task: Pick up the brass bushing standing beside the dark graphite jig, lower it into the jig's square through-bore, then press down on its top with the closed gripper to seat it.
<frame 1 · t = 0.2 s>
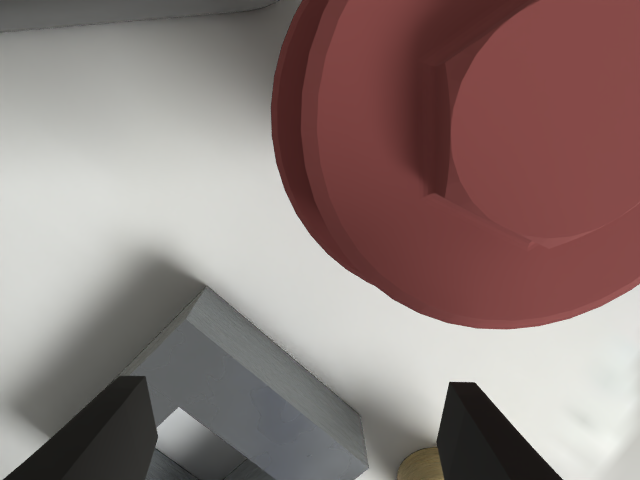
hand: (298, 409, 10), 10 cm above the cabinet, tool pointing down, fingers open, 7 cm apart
jig: (206, 428, 23), on the cabinet
bushing: (431, 475, 24), on the cabinet
mechanical component: (400, 120, 18), on the cabinet
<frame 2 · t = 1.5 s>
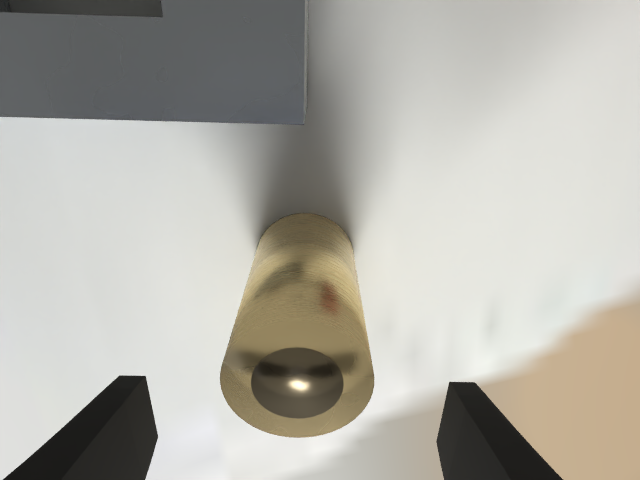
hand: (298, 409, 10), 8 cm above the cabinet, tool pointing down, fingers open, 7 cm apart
bushing: (305, 258, 17), on the cabinet
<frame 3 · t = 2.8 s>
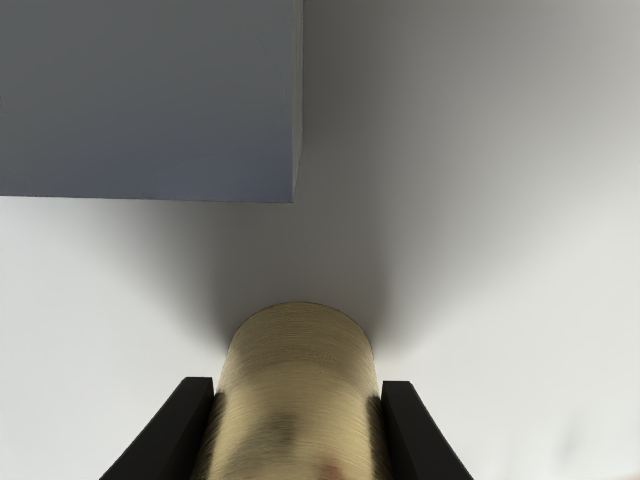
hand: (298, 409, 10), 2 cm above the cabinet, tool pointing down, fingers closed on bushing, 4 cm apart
bushing: (300, 362, 11), on the cabinet, touching gripper
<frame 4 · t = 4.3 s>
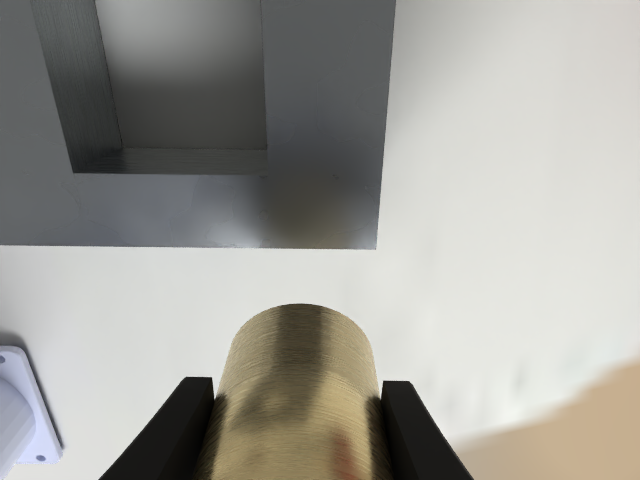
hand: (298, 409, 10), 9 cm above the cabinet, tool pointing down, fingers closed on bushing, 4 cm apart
jig: (191, 63, 14), on the cabinet
bushing: (301, 363, 11), point 7 cm above the cabinet, touching gripper
when the fingers open (4 cm above the cabinet, at t = 6.0 s): bushing drops 3 cm, resting in jig.
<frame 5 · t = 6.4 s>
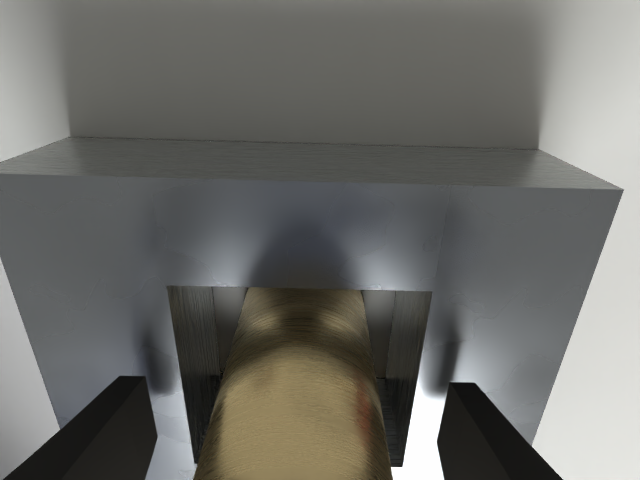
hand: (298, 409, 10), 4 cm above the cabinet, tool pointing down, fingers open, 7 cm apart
jig: (304, 308, 14), on the cabinet
bushing: (304, 310, 14), resting in jig
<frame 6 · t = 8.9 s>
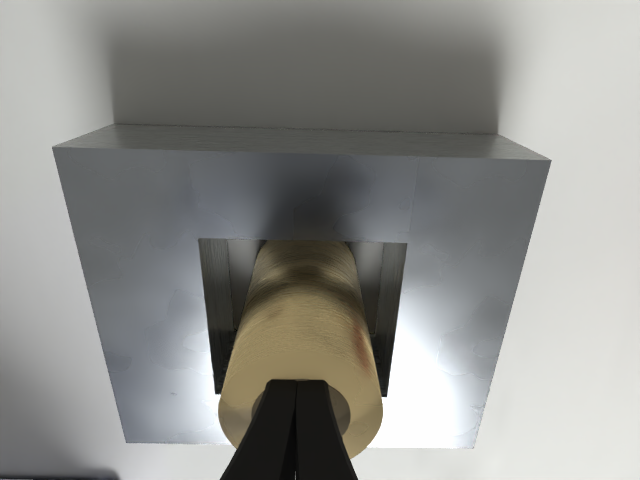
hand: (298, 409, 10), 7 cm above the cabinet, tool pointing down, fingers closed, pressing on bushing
jig: (305, 271, 16), on the cabinet
bushing: (305, 271, 16), resting in jig, touching gripper
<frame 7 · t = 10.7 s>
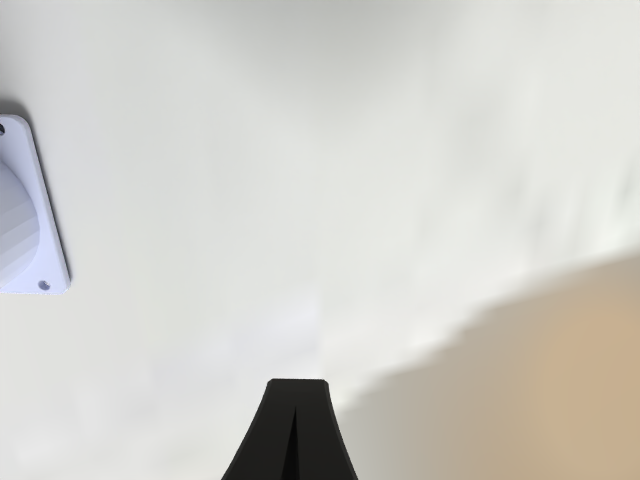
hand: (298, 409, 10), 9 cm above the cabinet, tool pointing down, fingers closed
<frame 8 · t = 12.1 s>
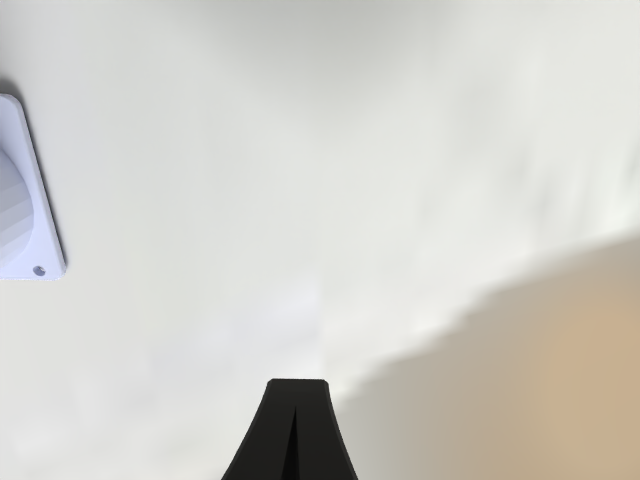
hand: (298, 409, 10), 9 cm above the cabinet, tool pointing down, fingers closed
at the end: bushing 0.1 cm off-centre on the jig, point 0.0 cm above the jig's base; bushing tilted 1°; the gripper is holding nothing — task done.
